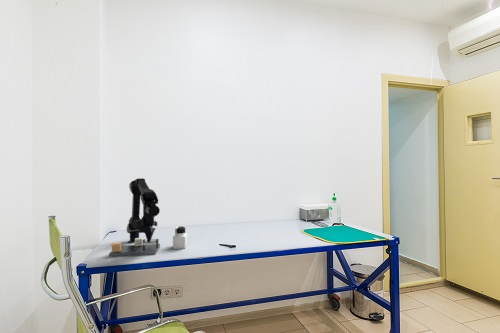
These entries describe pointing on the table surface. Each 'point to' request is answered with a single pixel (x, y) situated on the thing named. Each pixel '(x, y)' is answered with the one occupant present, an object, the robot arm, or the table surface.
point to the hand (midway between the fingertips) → (148, 242)
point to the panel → (137, 250)
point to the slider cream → (138, 241)
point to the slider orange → (116, 247)
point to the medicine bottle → (179, 238)
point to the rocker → (150, 242)
